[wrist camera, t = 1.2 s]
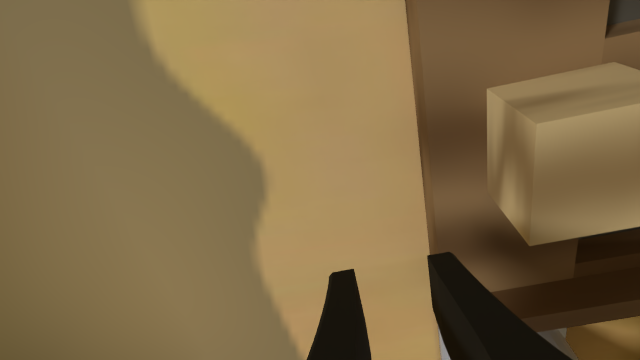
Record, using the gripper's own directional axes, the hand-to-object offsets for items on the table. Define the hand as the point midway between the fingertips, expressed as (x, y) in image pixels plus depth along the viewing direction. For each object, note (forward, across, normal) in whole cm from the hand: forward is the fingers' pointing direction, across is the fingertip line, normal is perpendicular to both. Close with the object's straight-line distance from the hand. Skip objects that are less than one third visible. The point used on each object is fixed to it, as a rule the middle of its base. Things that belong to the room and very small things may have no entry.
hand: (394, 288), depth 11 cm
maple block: (+7, -8, 0) cm, 11 cm away
